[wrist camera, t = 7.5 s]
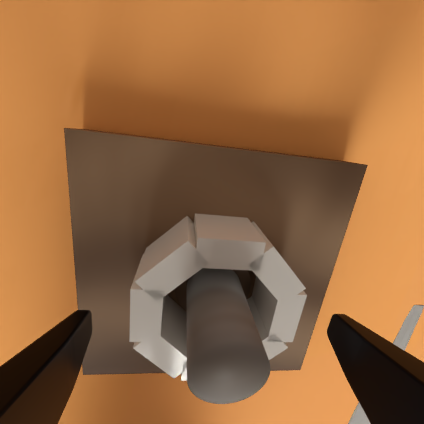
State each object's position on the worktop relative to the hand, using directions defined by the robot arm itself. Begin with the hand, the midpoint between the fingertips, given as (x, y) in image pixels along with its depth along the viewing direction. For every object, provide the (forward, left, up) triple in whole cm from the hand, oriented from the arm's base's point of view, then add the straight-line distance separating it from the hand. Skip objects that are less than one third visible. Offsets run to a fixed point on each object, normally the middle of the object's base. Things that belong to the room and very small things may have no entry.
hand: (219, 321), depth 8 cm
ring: (0, 0, -2) cm, 2 cm away
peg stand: (0, 0, -4) cm, 4 cm away
